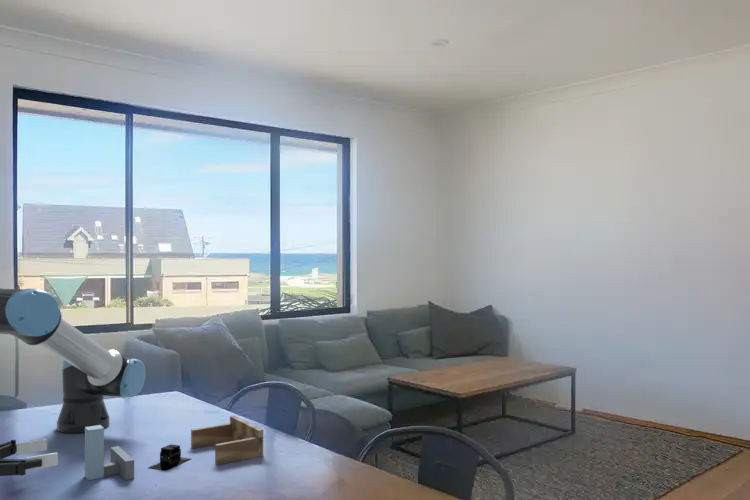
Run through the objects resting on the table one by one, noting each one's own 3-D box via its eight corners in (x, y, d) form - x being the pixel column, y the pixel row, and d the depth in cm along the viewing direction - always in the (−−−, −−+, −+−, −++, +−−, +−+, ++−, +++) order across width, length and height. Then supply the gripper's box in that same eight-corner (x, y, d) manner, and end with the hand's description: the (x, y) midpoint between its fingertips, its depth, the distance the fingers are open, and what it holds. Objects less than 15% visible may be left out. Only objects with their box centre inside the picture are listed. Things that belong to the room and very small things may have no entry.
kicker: (80, 470, 164) (80, 422, 164) (118, 463, 169) (118, 417, 169) (93, 486, 153) (93, 435, 153) (134, 478, 158) (134, 428, 158)
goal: (191, 447, 183) (191, 422, 183) (234, 439, 191) (234, 415, 191) (217, 465, 168) (217, 437, 168) (263, 455, 176) (263, 429, 176)
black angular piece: (164, 475, 162) (164, 456, 162) (140, 471, 165) (140, 452, 165) (198, 459, 174) (198, 441, 174) (174, 456, 177) (174, 438, 177)
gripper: (-59, 470, 151) (42, 453, 164) (-53, 504, 131) (62, 482, 144) (-59, 438, 151) (42, 424, 164) (-53, 467, 131) (62, 448, 144)
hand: (52, 451), depth 154 cm, fingers open, 13 cm apart
